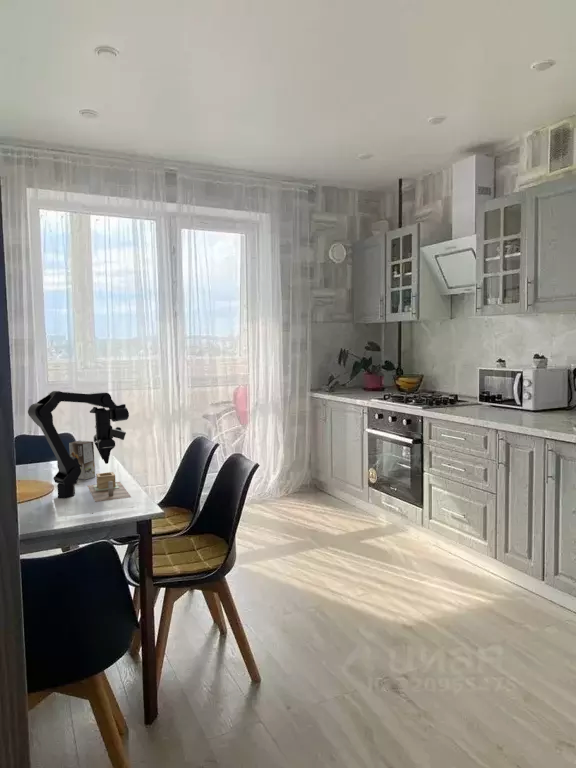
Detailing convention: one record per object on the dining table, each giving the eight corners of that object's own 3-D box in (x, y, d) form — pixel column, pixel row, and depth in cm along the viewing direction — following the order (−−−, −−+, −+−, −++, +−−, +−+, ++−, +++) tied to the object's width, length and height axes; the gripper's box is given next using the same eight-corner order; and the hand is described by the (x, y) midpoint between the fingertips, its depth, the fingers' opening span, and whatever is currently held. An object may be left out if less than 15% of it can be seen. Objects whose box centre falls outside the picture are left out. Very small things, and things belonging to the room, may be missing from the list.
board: (131, 500, 215) (130, 483, 214) (95, 505, 209) (94, 487, 209) (120, 484, 240) (119, 469, 239) (87, 488, 234) (86, 472, 234)
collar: (115, 487, 229) (115, 475, 229) (98, 489, 226) (98, 476, 226) (113, 483, 235) (112, 471, 235) (96, 485, 232) (96, 473, 232)
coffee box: (96, 476, 256) (94, 441, 254) (85, 480, 250) (83, 443, 249) (81, 475, 260) (79, 440, 259) (70, 478, 254) (68, 442, 253)
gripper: (127, 424, 224) (129, 463, 225) (120, 418, 241) (122, 455, 242) (97, 426, 219) (100, 466, 220) (92, 421, 236) (94, 458, 237)
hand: (105, 461), depth 230 cm, fingers open, 9 cm apart
